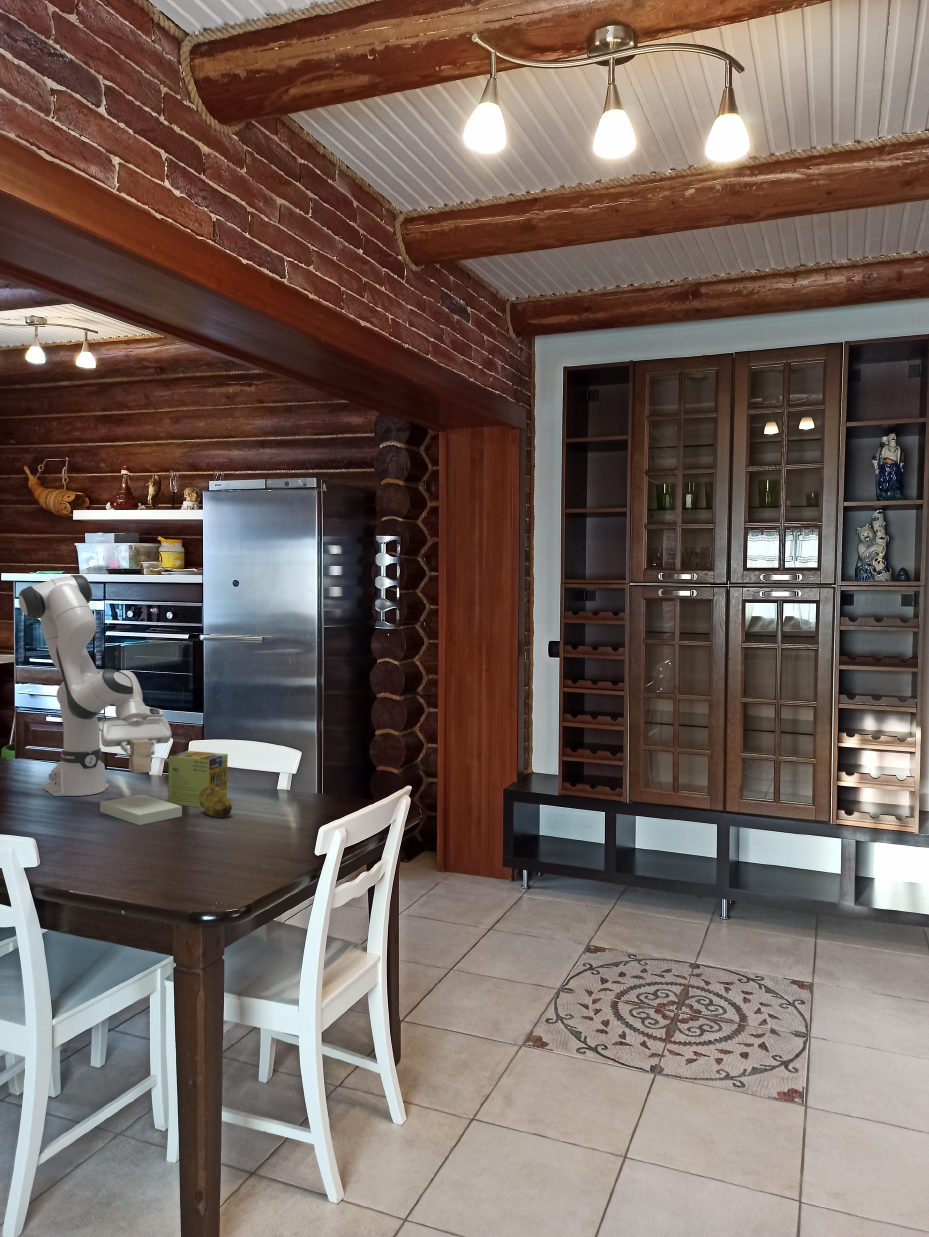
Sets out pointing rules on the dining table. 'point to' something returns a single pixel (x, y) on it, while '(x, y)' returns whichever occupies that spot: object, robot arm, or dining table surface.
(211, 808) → the potato
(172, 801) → the protein box
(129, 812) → the green board
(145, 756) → the birch block
